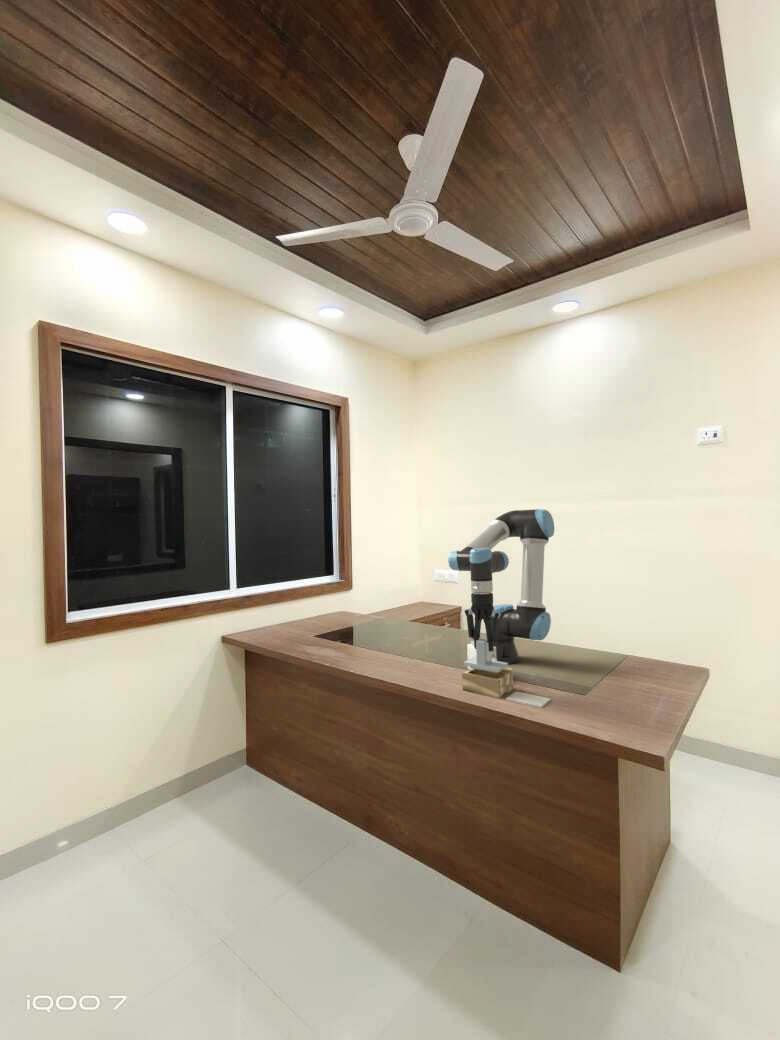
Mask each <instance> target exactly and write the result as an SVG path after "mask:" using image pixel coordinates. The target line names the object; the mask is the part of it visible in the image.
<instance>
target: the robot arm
mask: <svg viewBox="0 0 780 1040" xmlns="http://www.w3.org/2000/svg"><path fill="white" fill-rule="evenodd" d="M554 533H555V522H554V518H553V516H552V513H550V511H549V510H547V509H539V508H538V509H537V508H535V509H534V508H533V509H523V510H522V509H519V510H518V509H515V510H510V511H508V512H506V513H503V514H501V515H500V516H497V517H496V518H495V519H494V520H492V521H491V522H490V523H489V525H488V527H487V528H486V529H484V530H483V532H481V533H480V534H479V535H478V536H477V537H476V538H475V539H473V540H472V541H471V542H470V543H469V544H467V545H466V546H465V547H464V548H463V549H461V550H455V551H451V552H450V553H449V554H448V559H447V561H448V567H449V568H450V569H451V570H453V571H458V572H470V591H471V594H470V599H471V600H470V601H471V606H470V608H467V609H464V613H465V616H466V622H467V623H466V624H467V632H468V634H467V635H468V637H469V638H470V639H473V641H474V648H475V649H476V652H477V646H476V641H478V640H480V639H482V638H481V630H482V629H481V626H482V620H483V623H484V627H485V633H486V634H485V635H486V637H485V639H487V640H488V641H487V642H486V661H490V660H492V651H493V650H494V647H496V659H497V661H500V662H505V663H508V665H512V664H515V663H518V662H519V660H520V656H519V652H518V648H517V646H516V644H515V638H518V639H525V640H530V641H543V640H545V639H546V637H547V636H548V635H549V632H550V629H551V625H552V623H551V621H552V618H551V614H550V613H549V612H548V611H546V610H547V608H546V606H545V605H544V604H543V593H544V591H543V589H544V588H543V587H544V570H545V569H544V567H545V566H544V565H545V546H546V545H547V544H548V543H549V542H550V541H549V539H550V538H551V537H553V536H554ZM508 538H519V542H521V544H522V545H523V547H522V569H521V587H520V601H519V602H518V603H517V604H516V608H515V607H514V605H513V604H497V605H494V593H493V592H494V586H493V574H495V573H500V572H502V571H505V570H506V569H507V568H508V567H509V562H510V561H509V556H508V555H507V554H506V553H505V552H504V551H501V550H494V551H492V550H493V549H494V547H496V546H498V544H499V543H500V542H503V541H505V540H507V539H508Z"/></svg>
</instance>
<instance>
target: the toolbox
mask: <svg viewBox="0 0 780 1040" xmlns="http://www.w3.org/2000/svg"><path fill="white" fill-rule="evenodd" d="M461 678H462V691H465V692H469V693H474V694H479V695H483V696H487V697H492V698H496V699H501V698H502V697H504V696H505V695H506V694H508V693H510V692H512V691H513V690H514V670H513V668H511V667H506V668H505V669H503V670H501V671H499V672H497V673H494V672H489V671H484V670H479V669H473V668H472V669H470V670H468V669H467V670H466V671H464V672H462V677H461Z"/></svg>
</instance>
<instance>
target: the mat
mask: <svg viewBox="0 0 780 1040" xmlns="http://www.w3.org/2000/svg"><path fill="white" fill-rule="evenodd" d="M505 700H506V701H509V702H513V703H516V704H517V703H518V704H523V705H526V706H530V707H535V708H539V709H542V708H543V707H545V706H546V705H547V704H549V702H551V698H549V697H544V696H542V695H541V696H540V695H535V694H530V693H526V692H521V691H516V690H515V692H513V693H511V694H510V695H509V696H507V697H505Z"/></svg>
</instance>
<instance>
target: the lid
mask: <svg viewBox="0 0 780 1040" xmlns="http://www.w3.org/2000/svg"><path fill="white" fill-rule="evenodd" d="M479 639H480V640H478V641H476V646H477V657H473V658H471V659H469V660H468V659H467V660H464V661H463V666H466V667H468V666H470V668H473V669H479V670H484V671H489V672H494V673H497V672H499V671H501V670H503V669H505V668H509V664H508V663H505V662H500V661H497V659H493V658H492V660H490V661H486V642H487V641H488V640H487V639H486V637H485V638H484V637H483V638H479Z"/></svg>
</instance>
